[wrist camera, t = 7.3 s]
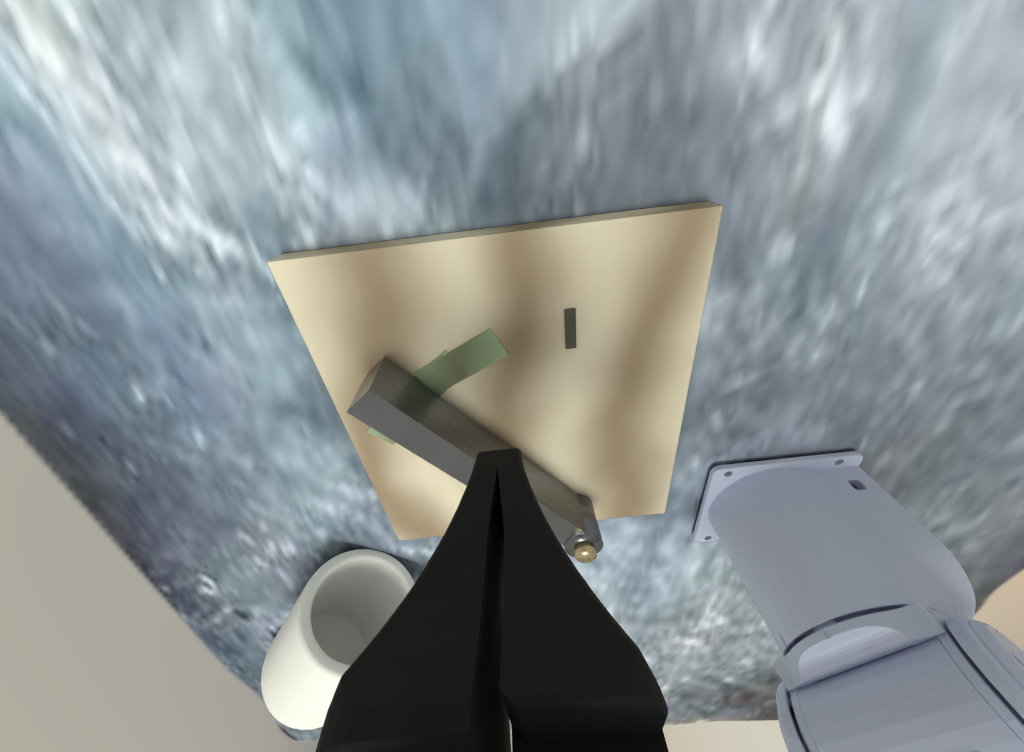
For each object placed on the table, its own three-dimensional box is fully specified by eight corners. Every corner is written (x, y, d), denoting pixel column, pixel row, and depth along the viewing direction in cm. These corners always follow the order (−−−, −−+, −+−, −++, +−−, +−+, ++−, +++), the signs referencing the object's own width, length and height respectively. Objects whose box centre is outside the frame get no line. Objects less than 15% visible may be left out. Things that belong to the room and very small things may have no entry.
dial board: (708, 200, 15) (724, 206, 14) (657, 498, 26) (665, 514, 25) (281, 253, 16) (265, 263, 15) (402, 524, 26) (398, 541, 25)
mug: (291, 597, 31) (236, 723, 25) (326, 534, 27) (271, 668, 20) (423, 626, 35) (406, 742, 28) (473, 576, 31) (468, 699, 24)
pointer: (389, 351, 17) (368, 395, 14) (599, 505, 24) (613, 555, 21) (361, 380, 18) (336, 427, 15) (572, 520, 25) (582, 571, 22)
